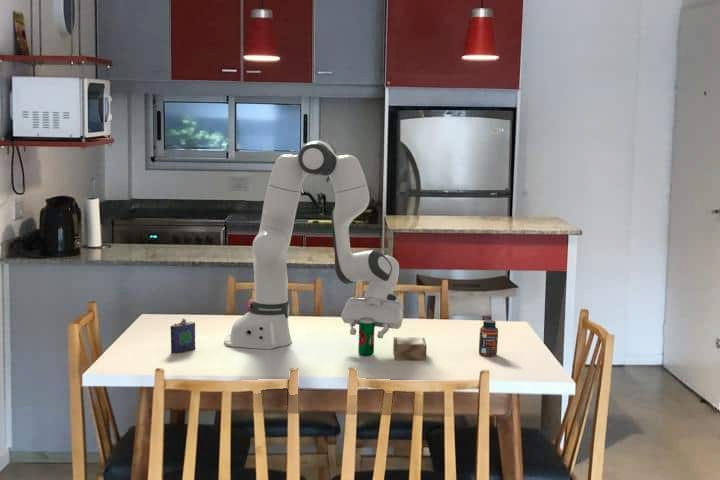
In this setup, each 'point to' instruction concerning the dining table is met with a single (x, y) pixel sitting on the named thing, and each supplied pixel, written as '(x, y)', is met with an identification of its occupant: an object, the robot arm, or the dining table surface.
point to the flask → (182, 337)
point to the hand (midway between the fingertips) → (365, 335)
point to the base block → (409, 348)
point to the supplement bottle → (488, 339)
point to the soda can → (366, 336)
